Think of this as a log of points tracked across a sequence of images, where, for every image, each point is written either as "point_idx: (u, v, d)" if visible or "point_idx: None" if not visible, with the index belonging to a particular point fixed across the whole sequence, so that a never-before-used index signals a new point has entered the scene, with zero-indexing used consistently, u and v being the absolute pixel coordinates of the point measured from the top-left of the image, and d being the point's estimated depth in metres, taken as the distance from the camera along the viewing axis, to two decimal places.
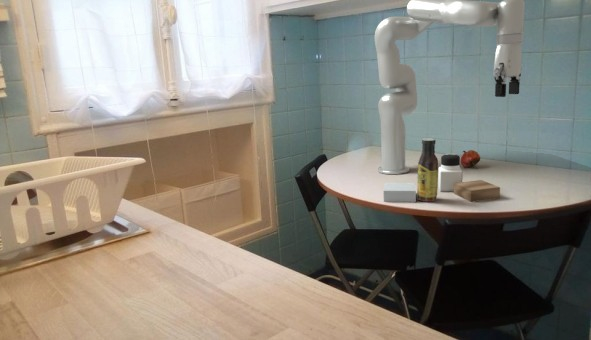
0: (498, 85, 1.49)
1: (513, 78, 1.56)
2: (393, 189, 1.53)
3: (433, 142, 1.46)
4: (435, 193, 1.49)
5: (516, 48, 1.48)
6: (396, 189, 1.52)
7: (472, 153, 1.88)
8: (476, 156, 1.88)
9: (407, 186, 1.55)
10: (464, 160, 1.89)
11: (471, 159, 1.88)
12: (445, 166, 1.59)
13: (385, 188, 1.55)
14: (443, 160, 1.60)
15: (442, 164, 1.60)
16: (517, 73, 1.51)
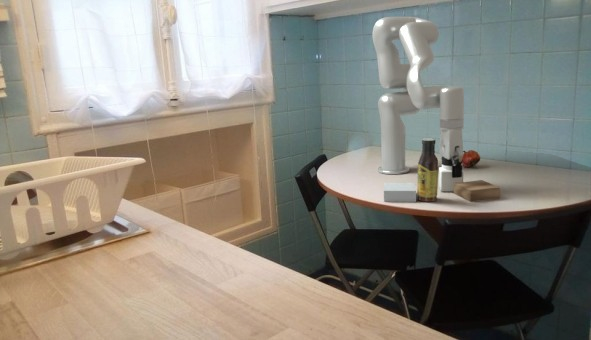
0: (457, 167, 1.55)
1: None
2: (393, 189, 1.53)
3: (433, 142, 1.46)
4: (435, 193, 1.49)
5: None
6: (397, 189, 1.52)
7: (472, 153, 1.88)
8: (476, 156, 1.88)
9: (407, 186, 1.55)
10: (464, 160, 1.89)
11: (471, 159, 1.88)
12: (446, 166, 1.59)
13: (385, 188, 1.55)
14: (444, 160, 1.59)
15: (443, 164, 1.60)
16: None
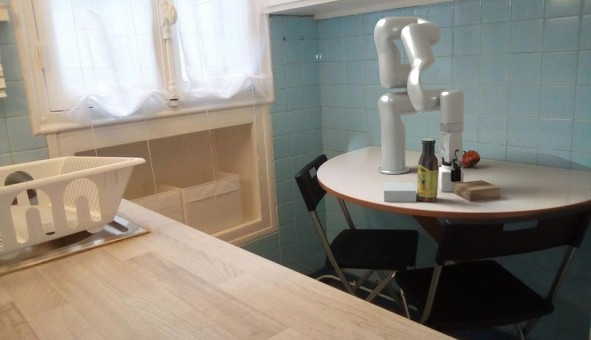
0: (456, 171, 1.56)
1: None
2: (393, 189, 1.53)
3: (433, 142, 1.46)
4: (435, 193, 1.49)
5: None
6: (397, 190, 1.52)
7: (472, 153, 1.88)
8: (476, 156, 1.88)
9: (407, 186, 1.55)
10: (464, 160, 1.89)
11: (471, 159, 1.88)
12: (446, 166, 1.59)
13: (385, 188, 1.55)
14: None
15: (443, 164, 1.60)
16: None
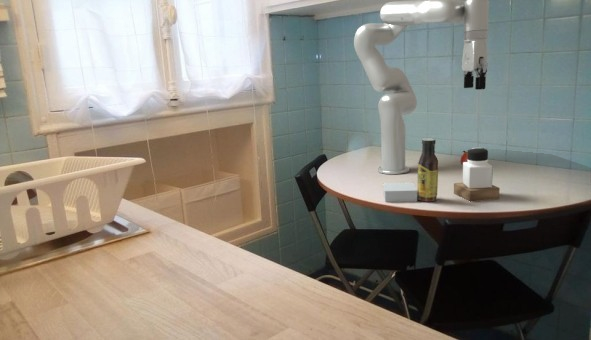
0: (480, 78, 1.55)
1: (467, 73, 1.66)
2: (394, 189, 1.53)
3: (433, 142, 1.46)
4: (435, 193, 1.49)
5: None
6: (398, 190, 1.52)
7: None
8: None
9: (407, 186, 1.56)
10: (464, 160, 1.89)
11: None
12: (474, 161, 1.48)
13: (386, 188, 1.54)
14: (471, 155, 1.48)
15: (470, 159, 1.49)
16: None
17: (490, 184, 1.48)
